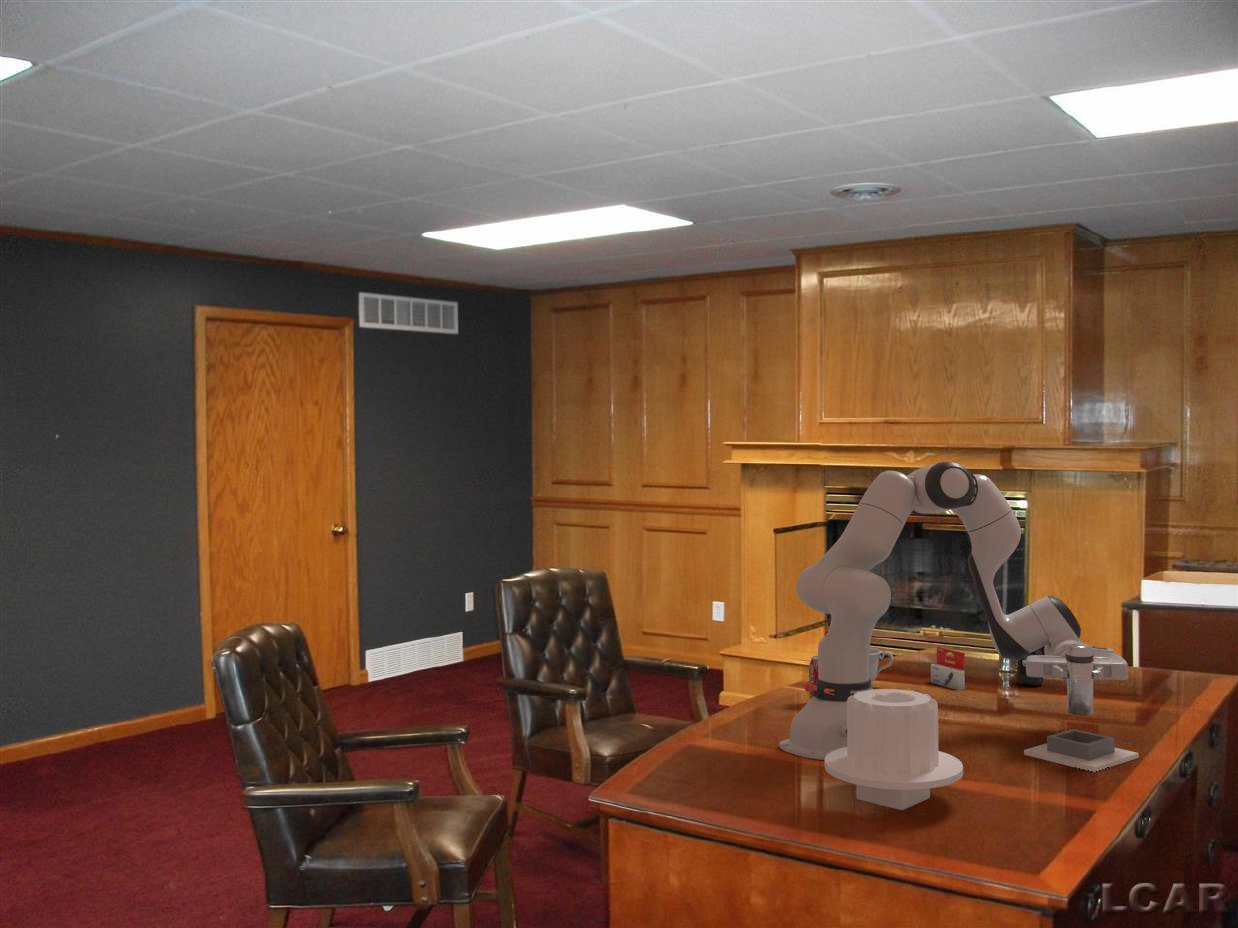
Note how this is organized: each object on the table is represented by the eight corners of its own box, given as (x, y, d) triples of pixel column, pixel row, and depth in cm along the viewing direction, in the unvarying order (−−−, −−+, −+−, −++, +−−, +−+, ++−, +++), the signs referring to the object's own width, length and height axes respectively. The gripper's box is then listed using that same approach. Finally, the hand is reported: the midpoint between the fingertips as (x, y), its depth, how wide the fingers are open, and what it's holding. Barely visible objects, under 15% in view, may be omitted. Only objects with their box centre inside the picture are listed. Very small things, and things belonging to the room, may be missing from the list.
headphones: (1040, 688, 293) (1039, 613, 293) (1015, 685, 296) (1014, 611, 296) (1055, 672, 312) (1054, 602, 311) (1032, 670, 315) (1031, 600, 315)
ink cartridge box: (958, 690, 292) (958, 653, 292) (930, 682, 302) (929, 647, 302) (965, 689, 293) (965, 652, 293) (937, 681, 303) (936, 646, 303)
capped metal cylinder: (1084, 717, 226) (1083, 649, 226) (1061, 712, 230) (1060, 645, 230) (1099, 712, 229) (1098, 645, 229) (1076, 708, 234) (1075, 642, 233)
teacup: (894, 692, 291) (894, 654, 291) (837, 691, 294) (836, 653, 294) (892, 682, 303) (892, 646, 302) (837, 681, 306) (836, 645, 305)
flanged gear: (798, 799, 206) (796, 698, 205) (872, 770, 223) (870, 677, 223) (918, 831, 188) (916, 721, 187) (988, 796, 205) (986, 695, 205)
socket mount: (1094, 772, 219) (1094, 752, 219) (1023, 754, 232) (1023, 735, 232) (1138, 757, 228) (1138, 738, 228) (1068, 741, 241) (1068, 723, 241)
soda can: (830, 709, 274) (829, 661, 274) (804, 705, 279) (803, 658, 278) (842, 703, 280) (841, 656, 280) (817, 700, 284) (816, 653, 284)
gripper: (1020, 646, 245) (1027, 658, 231) (1120, 648, 239) (1133, 661, 226) (1021, 674, 245) (1027, 688, 231) (1121, 677, 240) (1133, 692, 226)
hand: (1080, 675), depth 229 cm, fingers closed on capped metal cylinder, 5 cm apart
